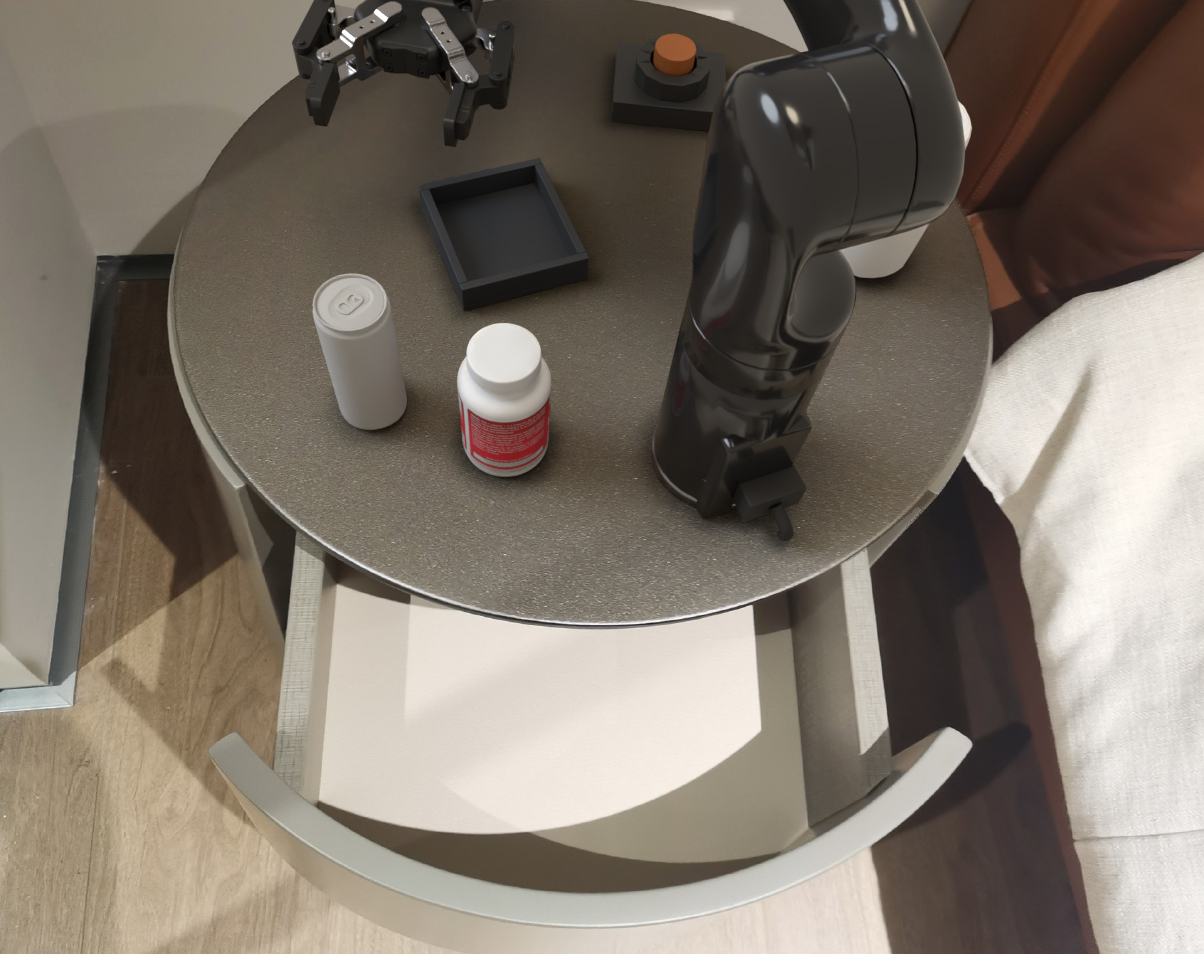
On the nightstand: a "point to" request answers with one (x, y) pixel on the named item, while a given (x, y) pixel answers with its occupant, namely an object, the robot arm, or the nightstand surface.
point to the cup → (891, 240)
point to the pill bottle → (504, 400)
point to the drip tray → (503, 233)
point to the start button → (674, 55)
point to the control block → (665, 88)
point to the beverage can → (360, 350)
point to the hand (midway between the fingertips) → (383, 126)
